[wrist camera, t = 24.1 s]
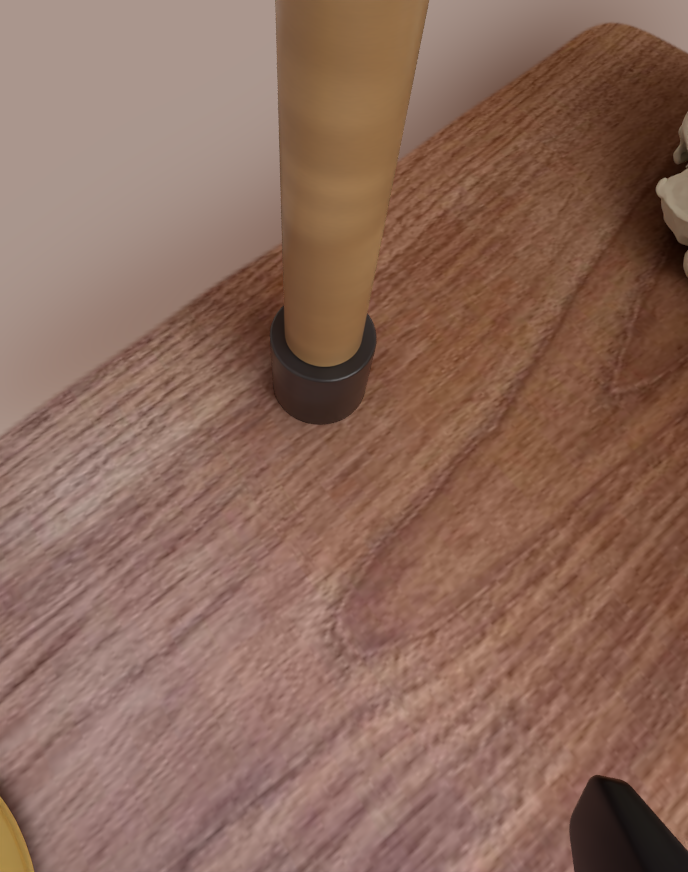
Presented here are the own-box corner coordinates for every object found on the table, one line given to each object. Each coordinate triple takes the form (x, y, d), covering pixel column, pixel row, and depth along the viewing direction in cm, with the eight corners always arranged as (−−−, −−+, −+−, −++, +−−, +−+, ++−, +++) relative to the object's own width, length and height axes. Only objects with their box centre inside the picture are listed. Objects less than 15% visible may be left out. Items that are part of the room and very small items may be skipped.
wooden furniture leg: (320, 443, 22) (366, 28, 8) (253, 382, 22) (188, -93, 9) (383, 383, 23) (519, -67, 9) (318, 328, 24) (351, -166, 10)
